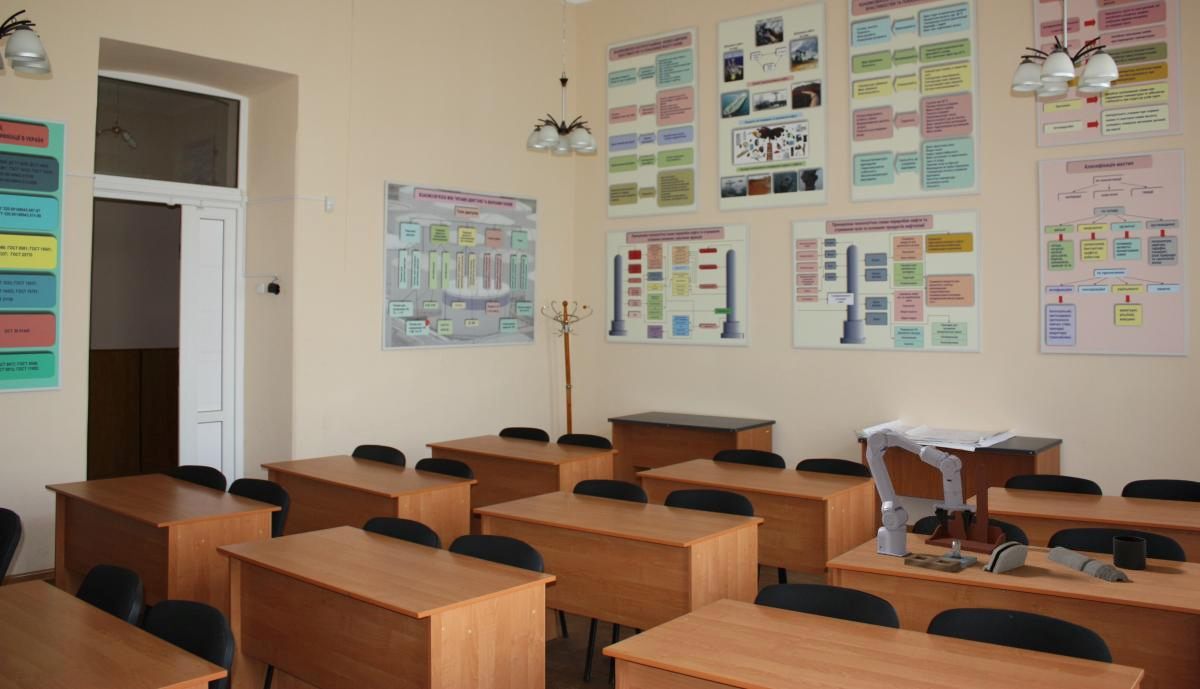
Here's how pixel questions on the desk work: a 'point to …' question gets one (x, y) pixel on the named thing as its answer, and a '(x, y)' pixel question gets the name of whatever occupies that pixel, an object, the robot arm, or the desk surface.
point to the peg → (956, 550)
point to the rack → (932, 563)
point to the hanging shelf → (980, 534)
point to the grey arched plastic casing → (1007, 557)
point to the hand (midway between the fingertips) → (956, 531)
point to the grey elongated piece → (1086, 564)
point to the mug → (1129, 552)
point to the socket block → (964, 559)
